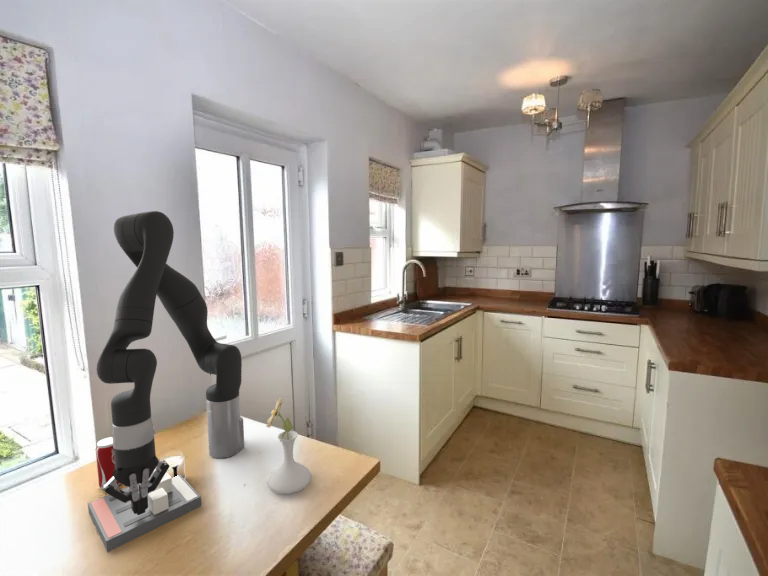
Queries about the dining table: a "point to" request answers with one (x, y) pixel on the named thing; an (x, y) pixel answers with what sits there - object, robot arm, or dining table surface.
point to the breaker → (165, 483)
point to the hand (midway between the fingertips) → (140, 512)
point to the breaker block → (124, 525)
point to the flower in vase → (287, 461)
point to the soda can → (105, 460)
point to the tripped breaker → (158, 501)
